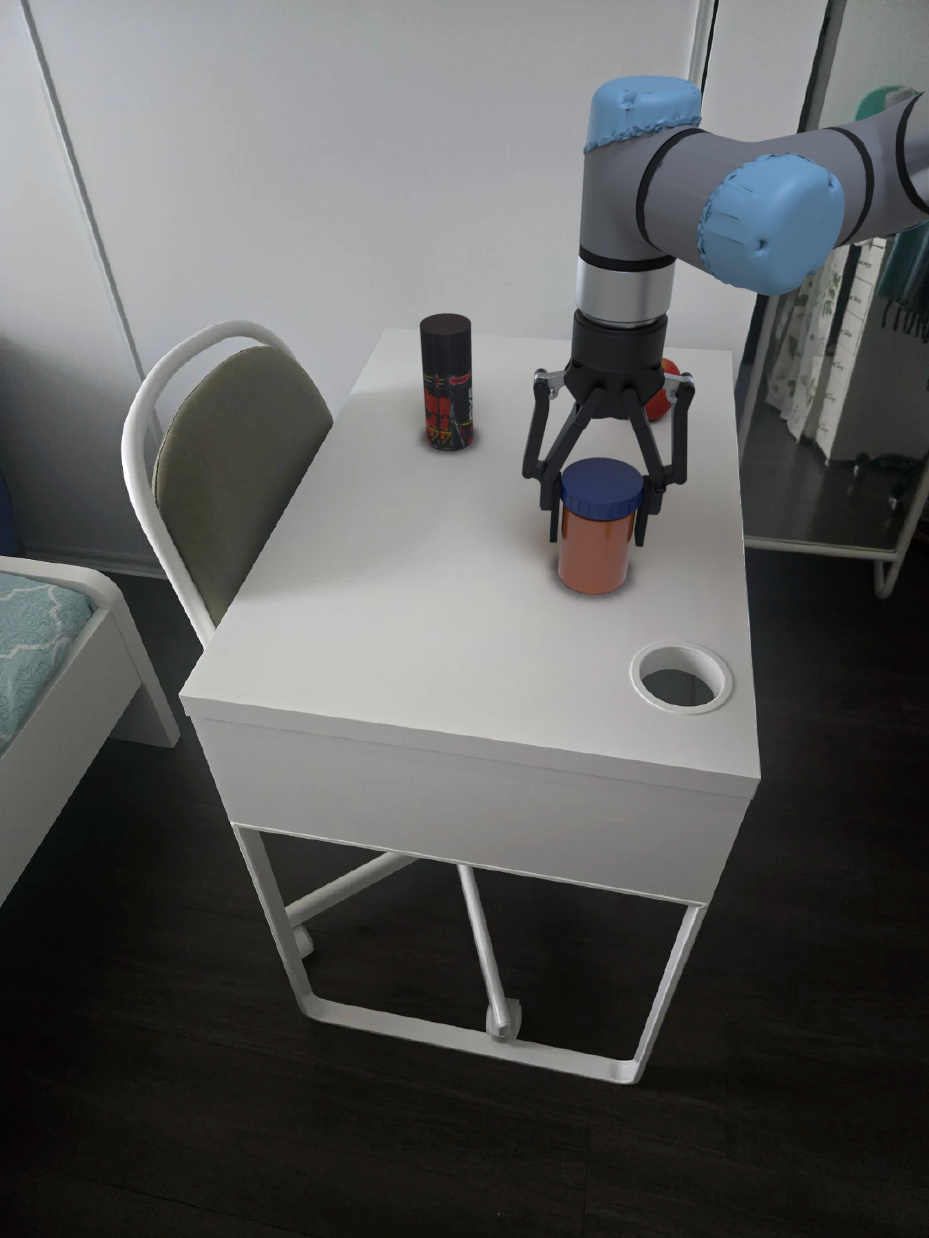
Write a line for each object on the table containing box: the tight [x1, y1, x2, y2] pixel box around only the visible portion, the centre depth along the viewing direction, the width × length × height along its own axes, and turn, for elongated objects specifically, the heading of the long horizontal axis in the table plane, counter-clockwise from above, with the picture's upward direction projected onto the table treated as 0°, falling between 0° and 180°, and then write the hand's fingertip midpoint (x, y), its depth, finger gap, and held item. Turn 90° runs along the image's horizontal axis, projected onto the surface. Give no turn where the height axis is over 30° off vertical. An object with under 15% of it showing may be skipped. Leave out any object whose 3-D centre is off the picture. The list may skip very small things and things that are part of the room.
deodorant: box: [419, 312, 474, 452], centre depth 98 cm, size 6×6×15 cm
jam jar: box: [557, 504, 637, 595], centre depth 80 cm, size 7×7×11 cm
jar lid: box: [560, 456, 644, 520], centre depth 76 cm, size 8×8×2 cm
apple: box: [645, 356, 682, 421], centre depth 104 cm, size 8×8×8 cm
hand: (595, 536), depth 80 cm, fingers closed on jar lid, 8 cm apart
